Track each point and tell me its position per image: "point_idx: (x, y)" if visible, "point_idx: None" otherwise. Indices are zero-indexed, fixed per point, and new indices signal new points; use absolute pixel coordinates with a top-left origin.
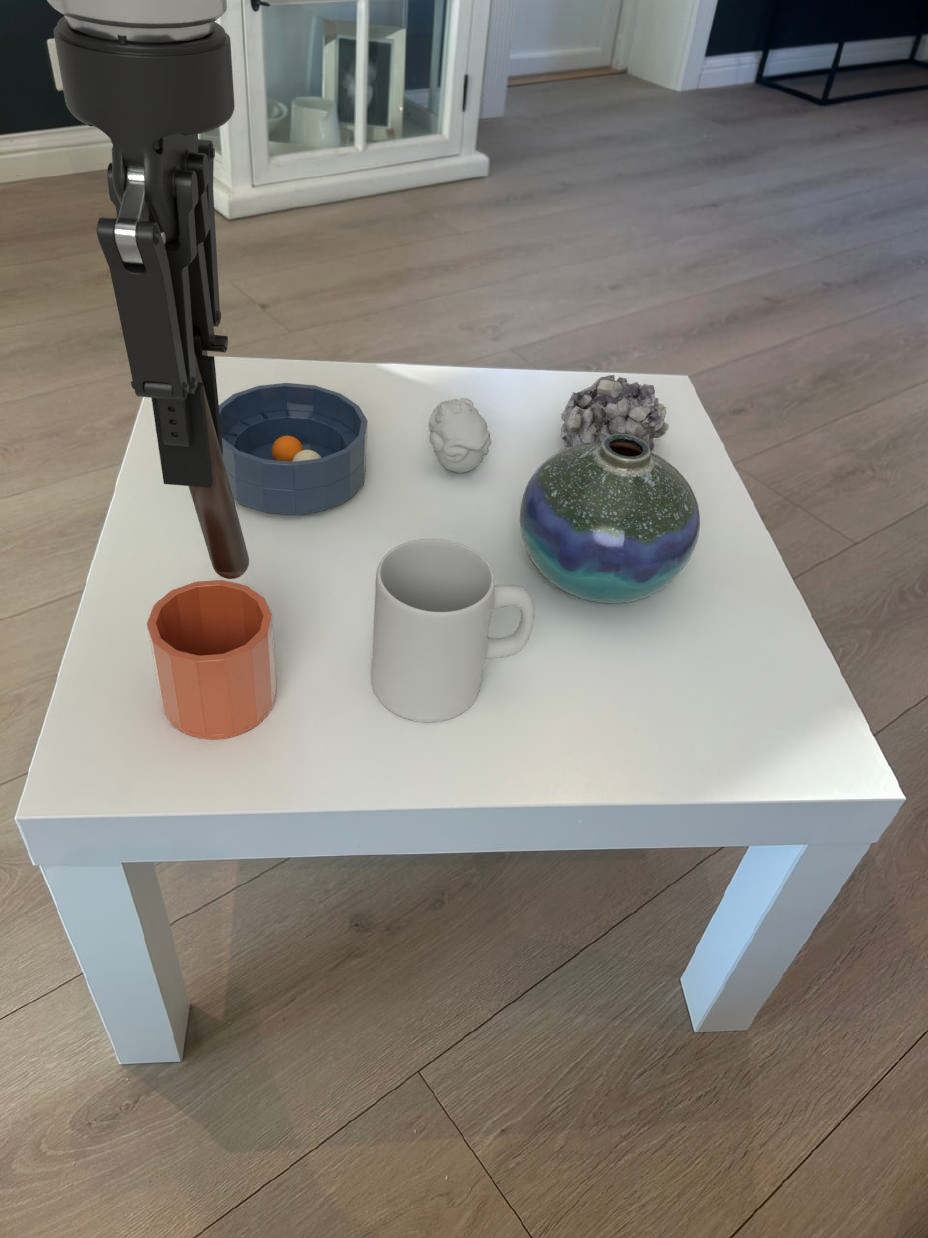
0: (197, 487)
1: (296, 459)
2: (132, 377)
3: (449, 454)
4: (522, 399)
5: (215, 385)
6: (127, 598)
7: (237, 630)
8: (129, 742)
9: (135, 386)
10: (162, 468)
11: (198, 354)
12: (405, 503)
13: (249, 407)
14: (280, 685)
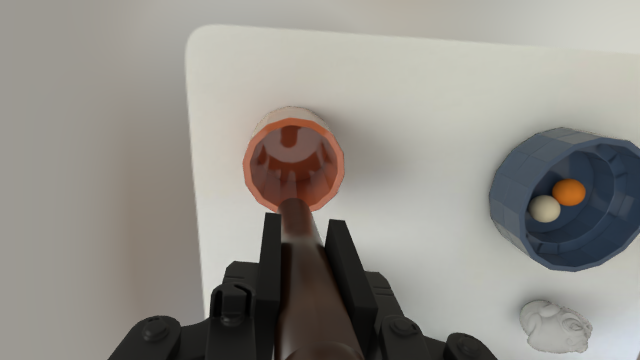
0: None
1: (548, 203)
2: (114, 353)
3: (530, 317)
4: (609, 356)
5: None
6: (406, 67)
7: (327, 170)
8: (249, 87)
9: (126, 339)
10: (264, 222)
11: (365, 356)
12: (493, 271)
13: (631, 165)
14: None
